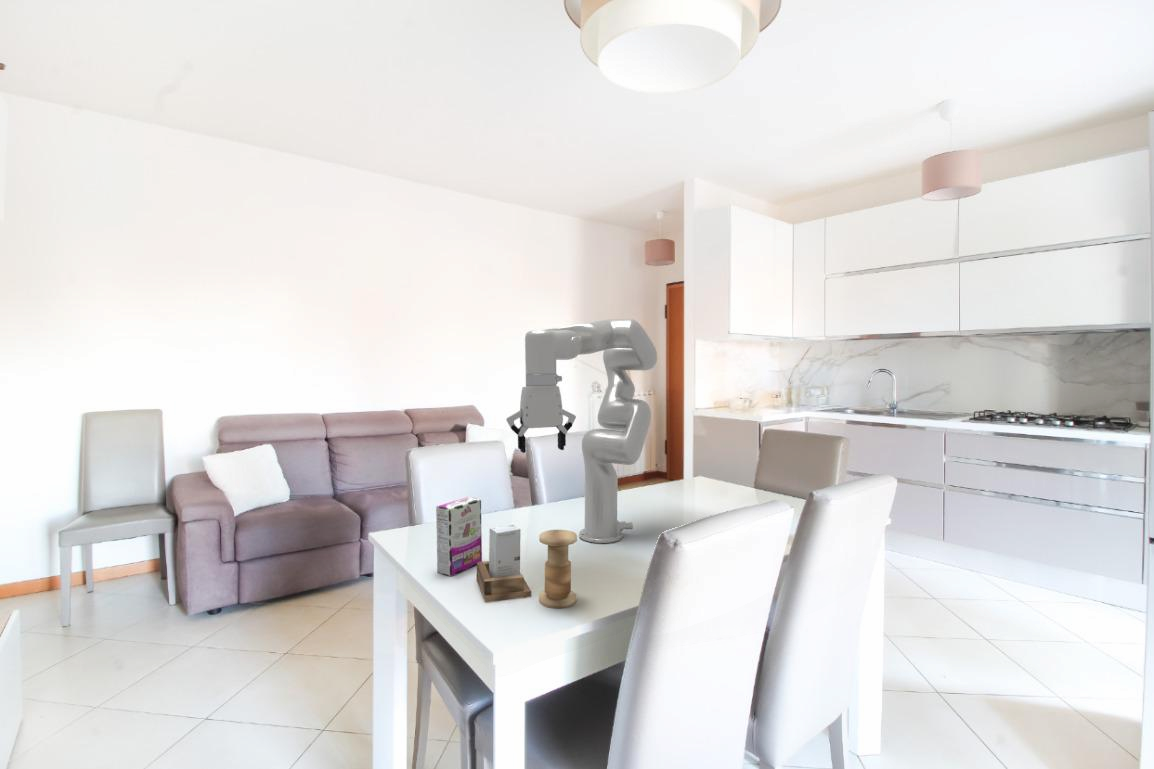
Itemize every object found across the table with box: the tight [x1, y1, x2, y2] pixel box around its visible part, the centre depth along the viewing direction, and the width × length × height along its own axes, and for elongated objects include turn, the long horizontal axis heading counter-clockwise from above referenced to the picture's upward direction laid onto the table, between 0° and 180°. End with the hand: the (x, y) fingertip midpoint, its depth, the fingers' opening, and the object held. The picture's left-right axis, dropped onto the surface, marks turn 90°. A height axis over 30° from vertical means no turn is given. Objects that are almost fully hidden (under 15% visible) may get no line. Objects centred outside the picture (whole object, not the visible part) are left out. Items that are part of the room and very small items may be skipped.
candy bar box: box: [435, 496, 483, 577], centre depth 136 cm, size 11×5×16 cm, turn 148°
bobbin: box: [538, 529, 578, 609], centre depth 118 cm, size 8×8×14 cm
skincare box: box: [488, 524, 522, 578], centre depth 124 cm, size 6×4×12 cm
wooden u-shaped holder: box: [476, 560, 532, 603], centre depth 124 cm, size 10×13×4 cm
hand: (542, 450), depth 136 cm, fingers open, 9 cm apart
